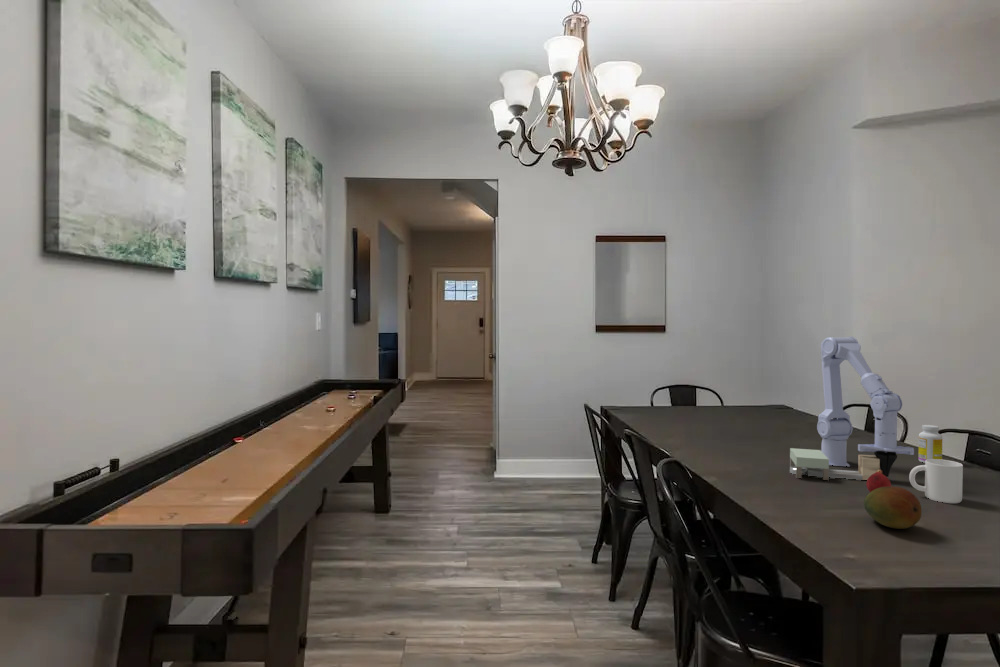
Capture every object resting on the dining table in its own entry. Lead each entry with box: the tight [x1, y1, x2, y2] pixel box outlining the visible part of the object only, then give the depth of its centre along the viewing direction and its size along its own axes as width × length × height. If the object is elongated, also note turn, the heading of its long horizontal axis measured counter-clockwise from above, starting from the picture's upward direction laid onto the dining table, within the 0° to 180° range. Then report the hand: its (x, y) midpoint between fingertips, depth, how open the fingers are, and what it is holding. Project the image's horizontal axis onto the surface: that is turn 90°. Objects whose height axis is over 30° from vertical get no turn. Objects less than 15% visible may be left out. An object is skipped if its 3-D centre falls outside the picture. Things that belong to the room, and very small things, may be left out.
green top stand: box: [789, 447, 830, 482], centre depth 185 cm, size 13×9×7 cm
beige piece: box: [806, 454, 881, 481], centre depth 182 cm, size 5×20×7 cm, turn 72°
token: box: [789, 465, 808, 476], centre depth 186 cm, size 5×5×2 cm
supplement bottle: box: [917, 424, 943, 464], centre depth 200 cm, size 7×7×13 cm
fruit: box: [863, 485, 923, 530], centre depth 139 cm, size 12×12×10 cm
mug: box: [908, 459, 964, 504], centre depth 161 cm, size 12×8×10 cm
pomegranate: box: [865, 469, 892, 493], centre depth 161 cm, size 6×6×8 cm
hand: (884, 475), depth 179 cm, fingers closed
